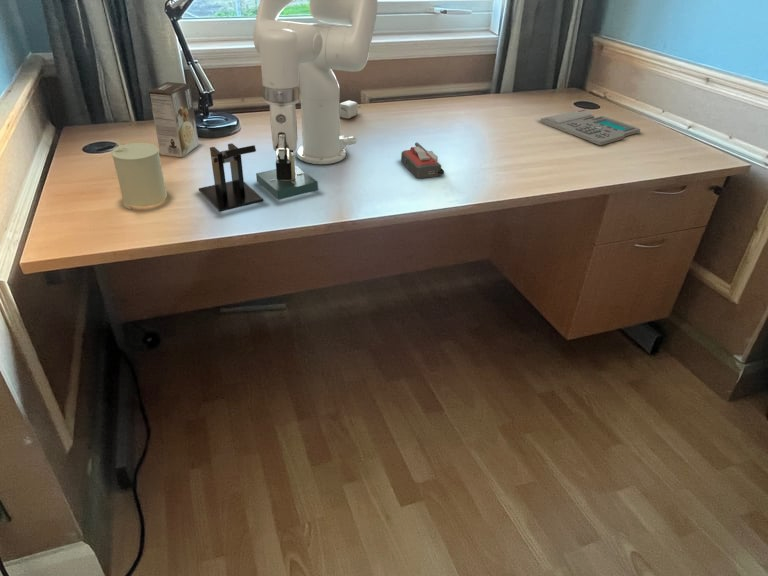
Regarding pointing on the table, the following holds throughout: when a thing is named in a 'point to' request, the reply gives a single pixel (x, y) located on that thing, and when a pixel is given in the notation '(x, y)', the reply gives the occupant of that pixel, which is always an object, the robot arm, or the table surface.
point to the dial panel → (287, 184)
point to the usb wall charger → (348, 109)
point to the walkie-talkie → (421, 162)
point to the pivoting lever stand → (228, 184)
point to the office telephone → (590, 126)
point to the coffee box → (174, 118)
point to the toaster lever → (236, 153)
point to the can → (139, 174)
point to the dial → (292, 165)
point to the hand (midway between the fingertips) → (285, 170)
